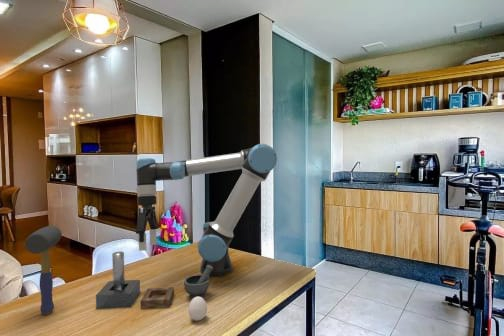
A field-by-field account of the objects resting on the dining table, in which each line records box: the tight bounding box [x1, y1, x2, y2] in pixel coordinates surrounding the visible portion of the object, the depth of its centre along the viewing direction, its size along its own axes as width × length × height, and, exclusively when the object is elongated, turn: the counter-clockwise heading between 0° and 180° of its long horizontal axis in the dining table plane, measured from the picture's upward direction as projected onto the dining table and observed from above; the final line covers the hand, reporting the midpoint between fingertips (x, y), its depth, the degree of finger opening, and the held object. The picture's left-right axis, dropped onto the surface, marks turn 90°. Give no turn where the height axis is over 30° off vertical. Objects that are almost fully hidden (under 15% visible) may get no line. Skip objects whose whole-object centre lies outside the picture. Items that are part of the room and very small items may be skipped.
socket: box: [95, 279, 141, 310], centre depth 113 cm, size 12×12×5 cm
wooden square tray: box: [140, 286, 175, 310], centre depth 111 cm, size 10×10×3 cm
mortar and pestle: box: [183, 265, 213, 302], centre depth 115 cm, size 11×9×12 cm
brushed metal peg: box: [111, 251, 126, 290], centre depth 113 cm, size 4×4×16 cm
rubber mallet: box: [24, 225, 63, 315], centre depth 103 cm, size 12×8×30 cm, turn 13°
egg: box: [188, 296, 208, 321], centre depth 99 cm, size 6×6×8 cm
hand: (148, 247), depth 122 cm, fingers open, 13 cm apart
